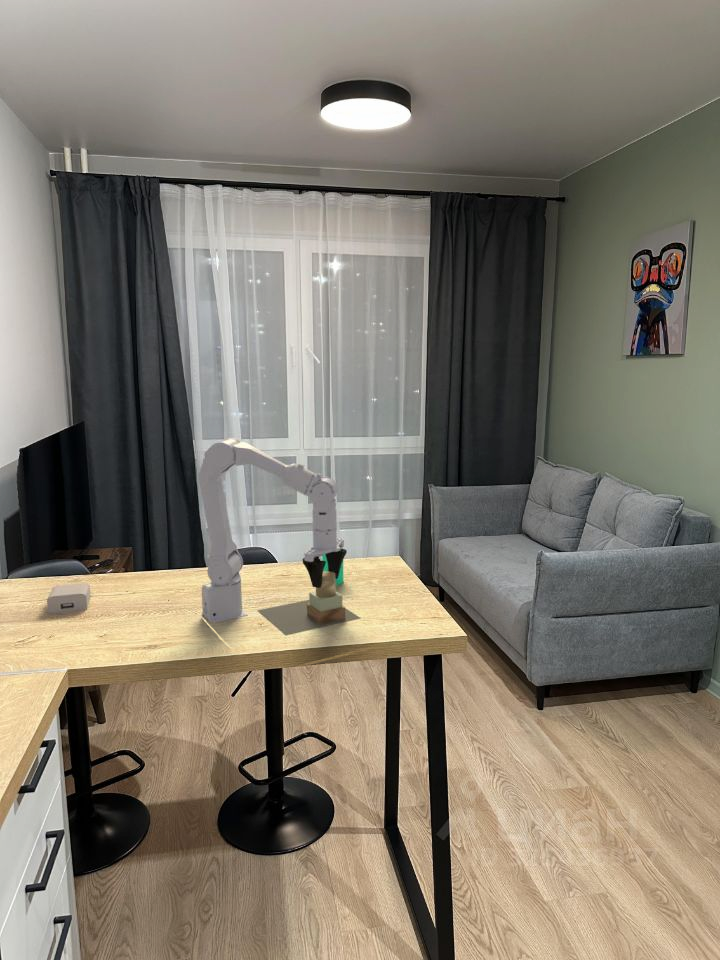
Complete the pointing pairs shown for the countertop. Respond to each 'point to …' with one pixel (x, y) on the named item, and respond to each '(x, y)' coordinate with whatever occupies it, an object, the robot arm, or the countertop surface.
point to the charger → (68, 598)
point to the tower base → (325, 614)
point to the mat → (297, 618)
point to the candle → (340, 577)
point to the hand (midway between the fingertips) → (325, 582)
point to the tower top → (325, 601)
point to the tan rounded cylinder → (327, 585)
